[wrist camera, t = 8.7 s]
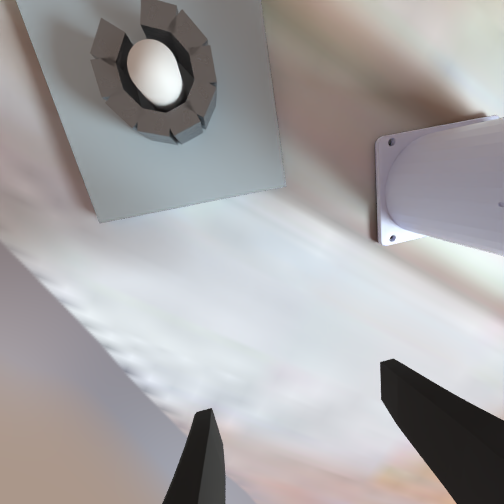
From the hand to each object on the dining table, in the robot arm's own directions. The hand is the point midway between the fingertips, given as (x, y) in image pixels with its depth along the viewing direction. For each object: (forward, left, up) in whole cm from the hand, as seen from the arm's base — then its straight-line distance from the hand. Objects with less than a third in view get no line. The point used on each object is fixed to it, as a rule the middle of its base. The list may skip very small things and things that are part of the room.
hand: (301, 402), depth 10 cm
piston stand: (+3, -14, -10) cm, 17 cm away
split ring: (+3, -14, -9) cm, 17 cm away
